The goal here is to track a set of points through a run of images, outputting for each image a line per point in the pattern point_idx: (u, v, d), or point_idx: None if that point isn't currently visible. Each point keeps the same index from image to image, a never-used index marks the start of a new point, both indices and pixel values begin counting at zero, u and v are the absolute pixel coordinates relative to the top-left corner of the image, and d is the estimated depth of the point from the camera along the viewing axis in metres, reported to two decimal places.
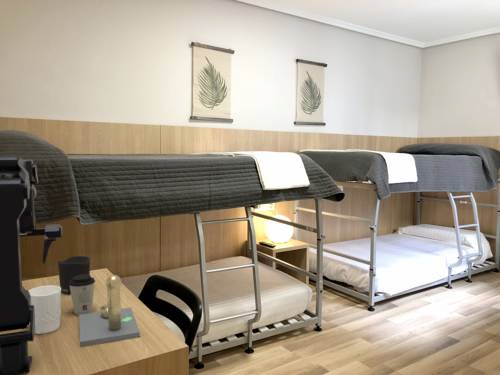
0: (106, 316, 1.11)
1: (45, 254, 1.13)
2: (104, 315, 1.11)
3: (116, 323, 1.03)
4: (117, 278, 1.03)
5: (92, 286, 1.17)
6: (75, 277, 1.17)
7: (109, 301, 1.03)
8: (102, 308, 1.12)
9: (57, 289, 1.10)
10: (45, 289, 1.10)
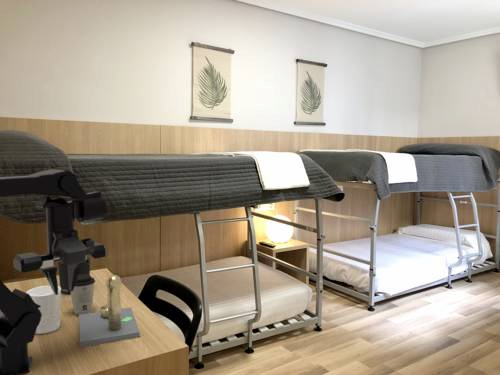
0: (106, 316, 1.11)
1: None
2: (104, 315, 1.11)
3: (116, 323, 1.03)
4: (117, 278, 1.03)
5: (92, 286, 1.17)
6: None
7: (109, 301, 1.03)
8: (102, 308, 1.12)
9: None
10: (45, 289, 1.10)
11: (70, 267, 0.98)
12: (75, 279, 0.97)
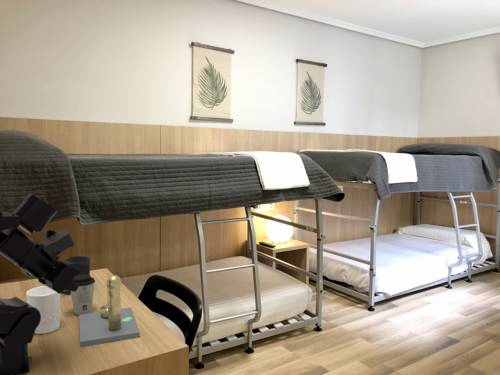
0: (106, 316, 1.11)
1: (64, 289, 0.94)
2: (104, 315, 1.11)
3: (116, 323, 1.03)
4: (117, 278, 1.03)
5: (92, 286, 1.17)
6: (75, 277, 1.17)
7: (109, 301, 1.03)
8: (102, 308, 1.12)
9: None
10: (45, 289, 1.10)
11: None
12: None
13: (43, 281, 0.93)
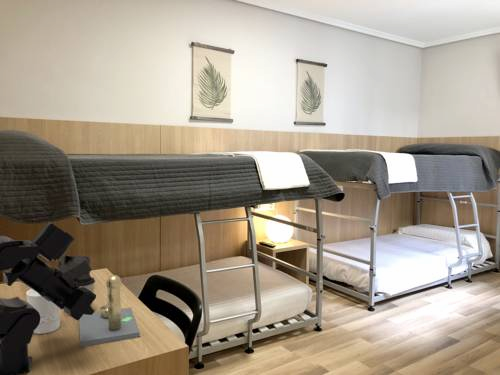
0: (106, 316, 1.11)
1: None
2: (104, 315, 1.11)
3: (116, 323, 1.03)
4: (117, 278, 1.03)
5: (92, 286, 1.17)
6: None
7: (109, 301, 1.03)
8: (102, 308, 1.12)
9: None
10: None
11: None
12: None
13: (61, 306, 0.96)
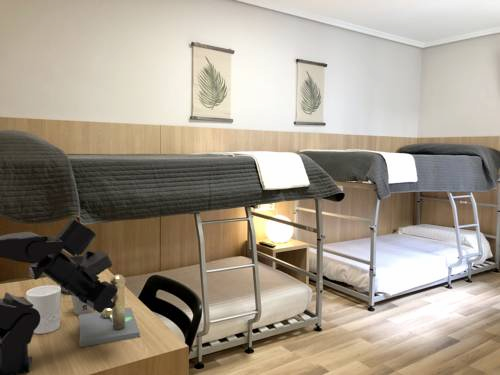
0: (107, 316, 1.11)
1: None
2: (104, 315, 1.11)
3: (121, 322, 1.04)
4: (122, 277, 1.04)
5: None
6: None
7: (114, 300, 1.03)
8: None
9: (57, 289, 1.10)
10: (45, 289, 1.10)
11: None
12: None
13: (83, 300, 0.99)
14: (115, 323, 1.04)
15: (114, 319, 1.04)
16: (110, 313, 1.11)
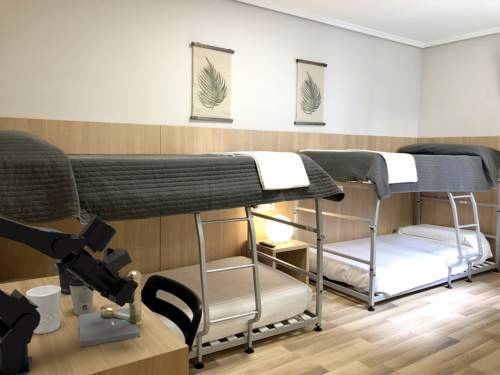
0: (112, 315, 1.11)
1: None
2: (109, 315, 1.11)
3: (140, 315, 1.08)
4: (139, 272, 1.08)
5: None
6: (75, 277, 1.17)
7: (134, 295, 1.07)
8: (104, 309, 1.11)
9: (57, 289, 1.10)
10: (45, 289, 1.10)
11: None
12: None
13: (104, 295, 1.02)
14: (135, 317, 1.07)
15: (134, 314, 1.07)
16: (114, 312, 1.11)
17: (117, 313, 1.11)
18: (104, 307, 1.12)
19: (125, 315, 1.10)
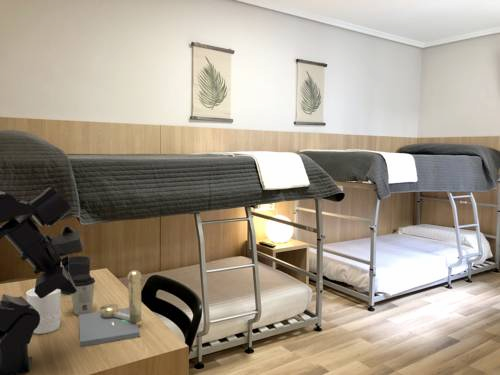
0: (112, 315, 1.11)
1: None
2: (109, 315, 1.11)
3: (140, 315, 1.08)
4: (139, 272, 1.08)
5: (92, 286, 1.17)
6: (75, 277, 1.17)
7: (134, 295, 1.07)
8: (104, 309, 1.11)
9: (57, 289, 1.10)
10: None
11: None
12: (71, 278, 0.95)
13: None
14: (135, 317, 1.07)
15: (134, 314, 1.07)
16: (114, 312, 1.11)
17: (117, 313, 1.11)
18: (104, 307, 1.12)
19: (125, 315, 1.10)
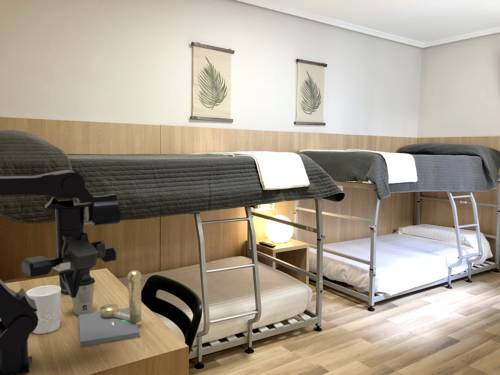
0: (112, 315, 1.11)
1: None
2: (109, 315, 1.11)
3: (140, 315, 1.08)
4: (139, 272, 1.08)
5: (92, 286, 1.17)
6: None
7: (134, 295, 1.07)
8: (104, 309, 1.11)
9: (57, 289, 1.10)
10: (45, 289, 1.10)
11: None
12: (78, 285, 0.93)
13: None
14: (135, 317, 1.07)
15: (134, 314, 1.07)
16: (114, 312, 1.11)
17: (117, 313, 1.11)
18: (104, 307, 1.12)
19: (125, 315, 1.10)
